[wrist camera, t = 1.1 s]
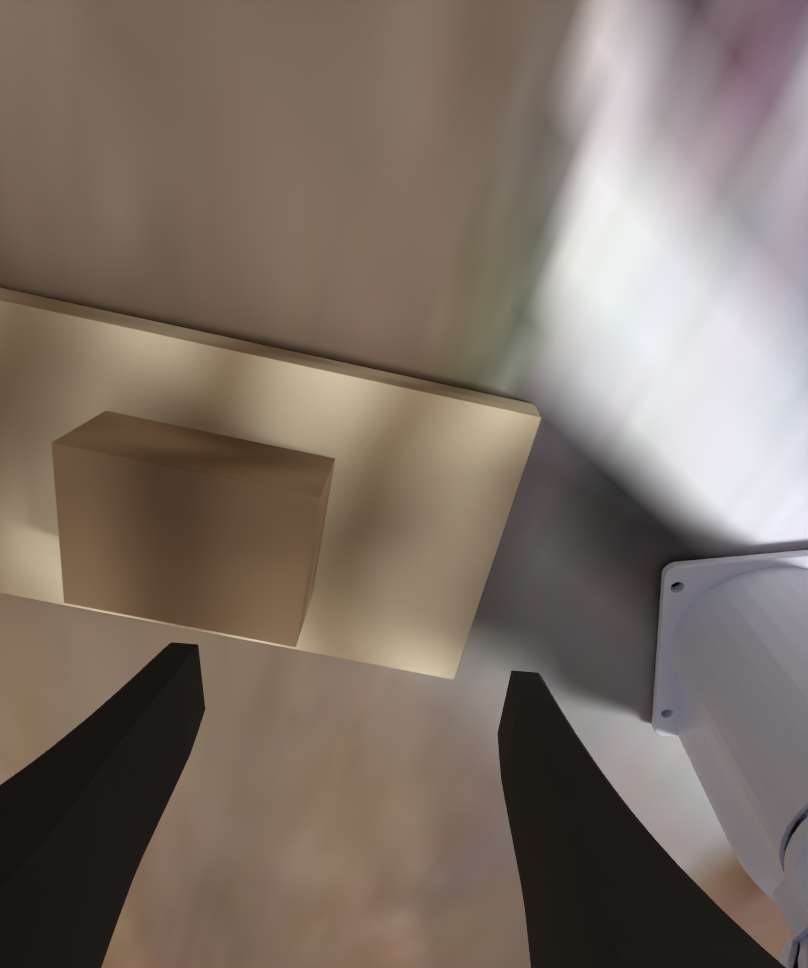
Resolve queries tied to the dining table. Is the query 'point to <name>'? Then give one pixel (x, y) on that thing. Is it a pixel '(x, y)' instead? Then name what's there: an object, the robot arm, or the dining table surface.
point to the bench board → (288, 424)
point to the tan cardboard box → (189, 526)
